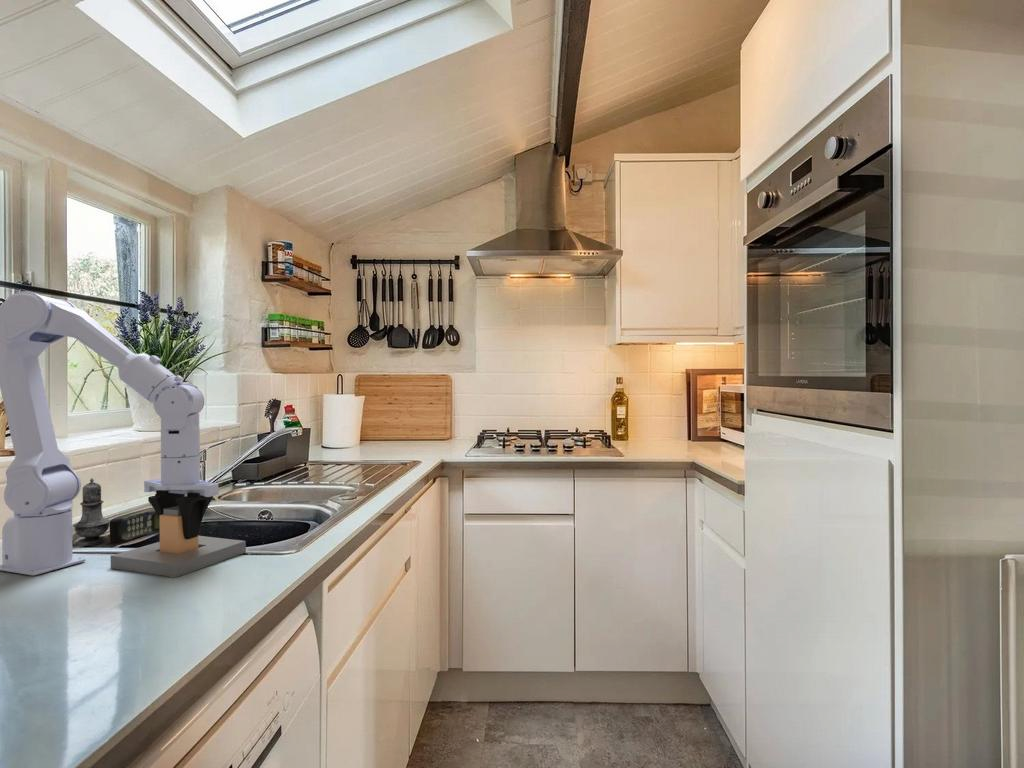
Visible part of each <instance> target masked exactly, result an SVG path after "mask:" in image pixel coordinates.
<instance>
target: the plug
mask: <svg viewBox="0 0 1024 768" xmlns="http://www.w3.org/2000/svg"><path fill="white" fill-rule="evenodd" d="M163 513H164V514H163V515H160V532H159V542H160V552H166V553H174V554H181V553H184V552H187V551H190V550H193V549H197V548H199V546H198V537H195V538H191V539H185V538H184V534H183V524H182V516H181V512H180V509H179V506H174V507H170V508H165V509H163Z"/></svg>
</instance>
